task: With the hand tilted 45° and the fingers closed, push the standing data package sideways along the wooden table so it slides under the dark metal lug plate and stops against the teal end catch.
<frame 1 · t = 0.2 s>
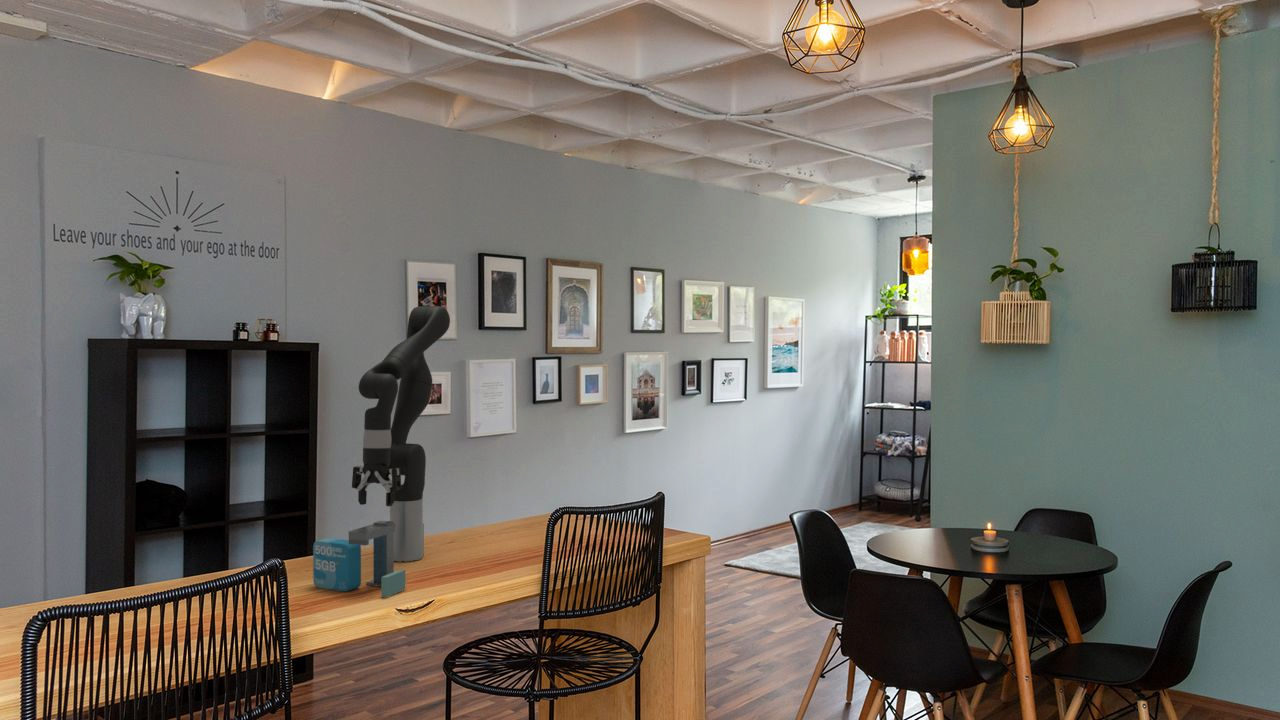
hand: (375, 505, 257), 18 cm above the table, tool pointing down, fingers open, 8 cm apart
data package: (337, 588, 237), on the table
lug bracket: (383, 584, 241), on the table
end catch: (393, 593, 232), on the table
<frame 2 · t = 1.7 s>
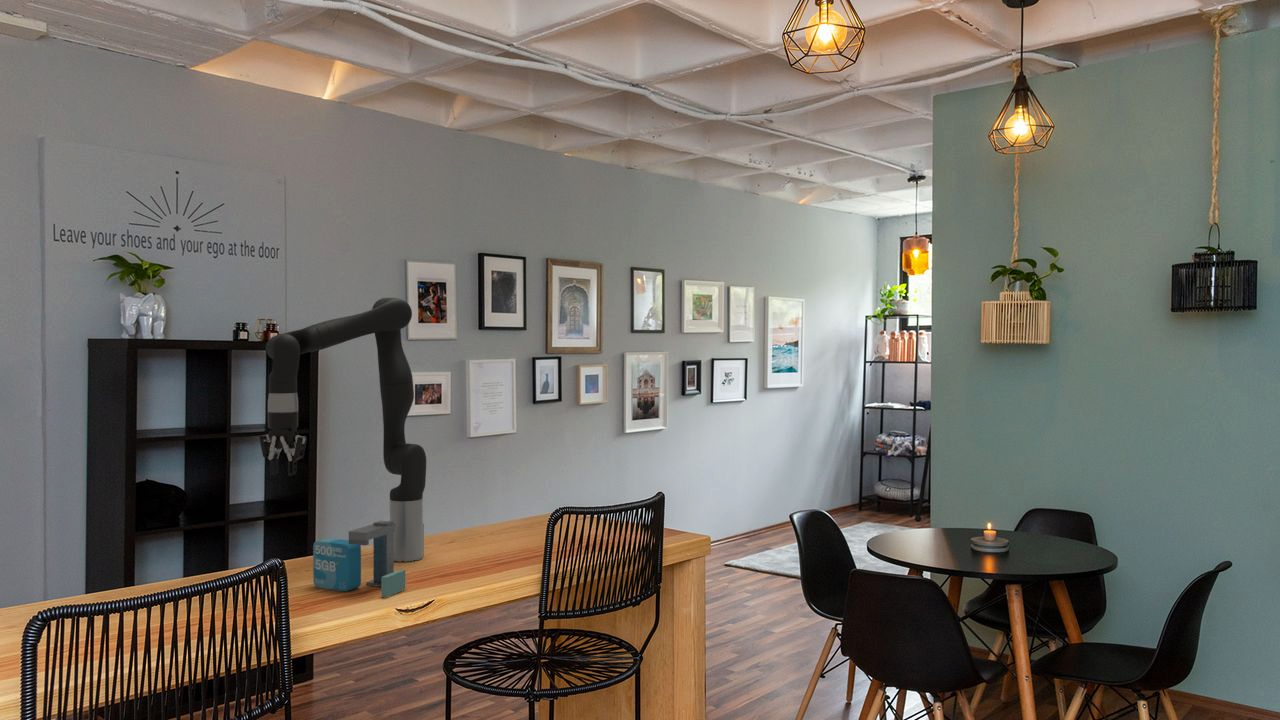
hand: (283, 474, 247), 27 cm above the table, tool pointing down, fingers open, 5 cm apart
nothing on the table moved.
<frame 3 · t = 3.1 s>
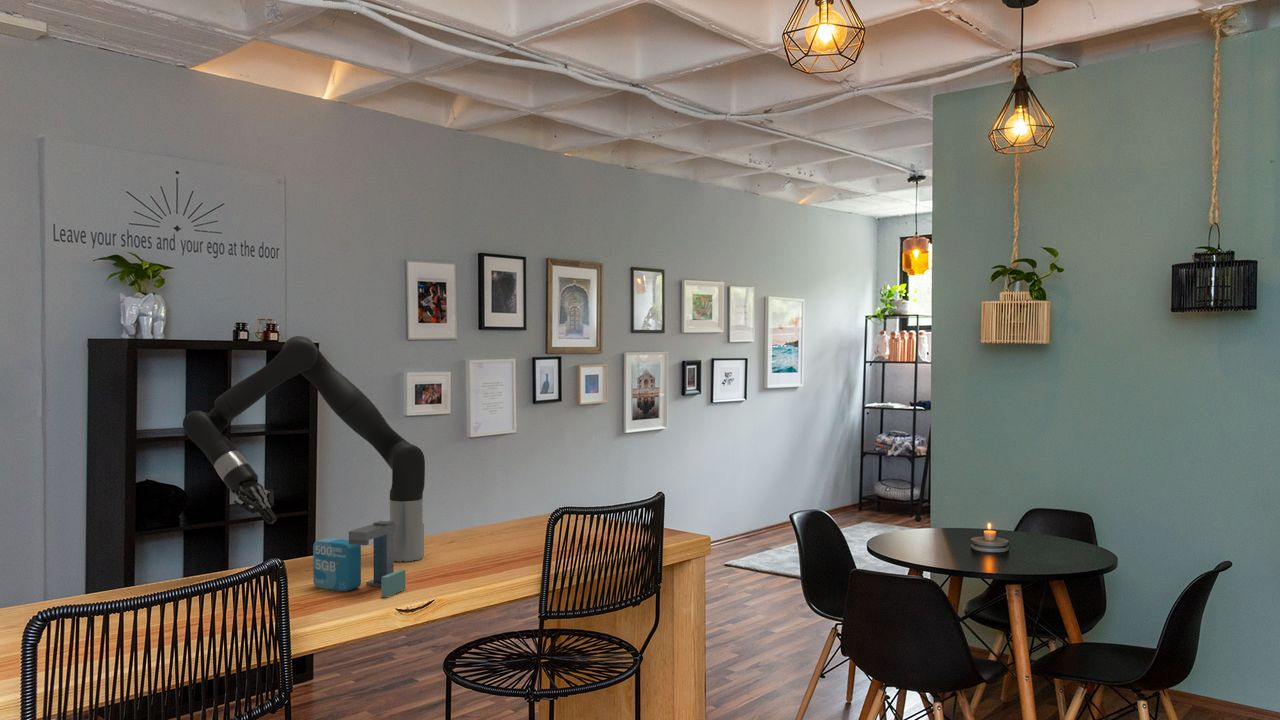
hand: (273, 521, 243), 16 cm above the table, tool tilted 45°, fingers closed
nothing on the table moved.
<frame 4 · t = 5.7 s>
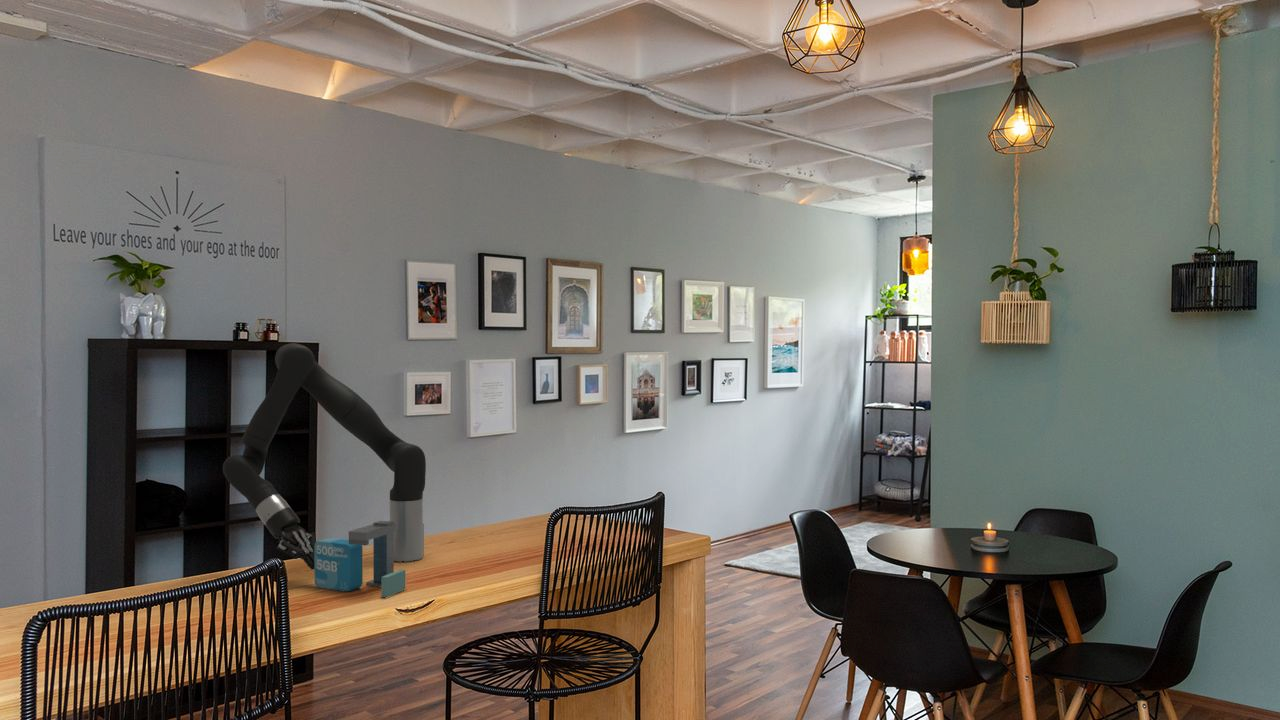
hand: (316, 567, 239), 5 cm above the table, tool tilted 45°, fingers closed
data package: (338, 588, 237), on the table, touching gripper
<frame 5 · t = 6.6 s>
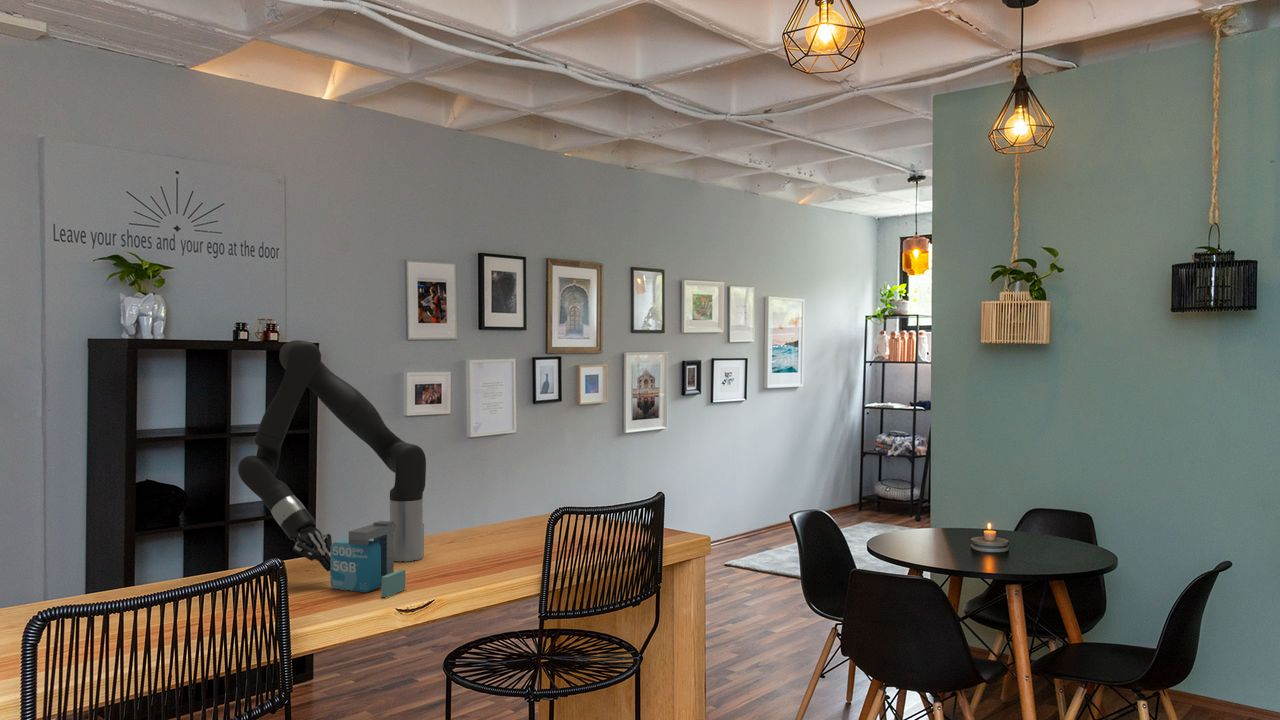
hand: (332, 568, 238), 5 cm above the table, tool tilted 45°, fingers closed
data package: (355, 589, 236), on the table, touching gripper
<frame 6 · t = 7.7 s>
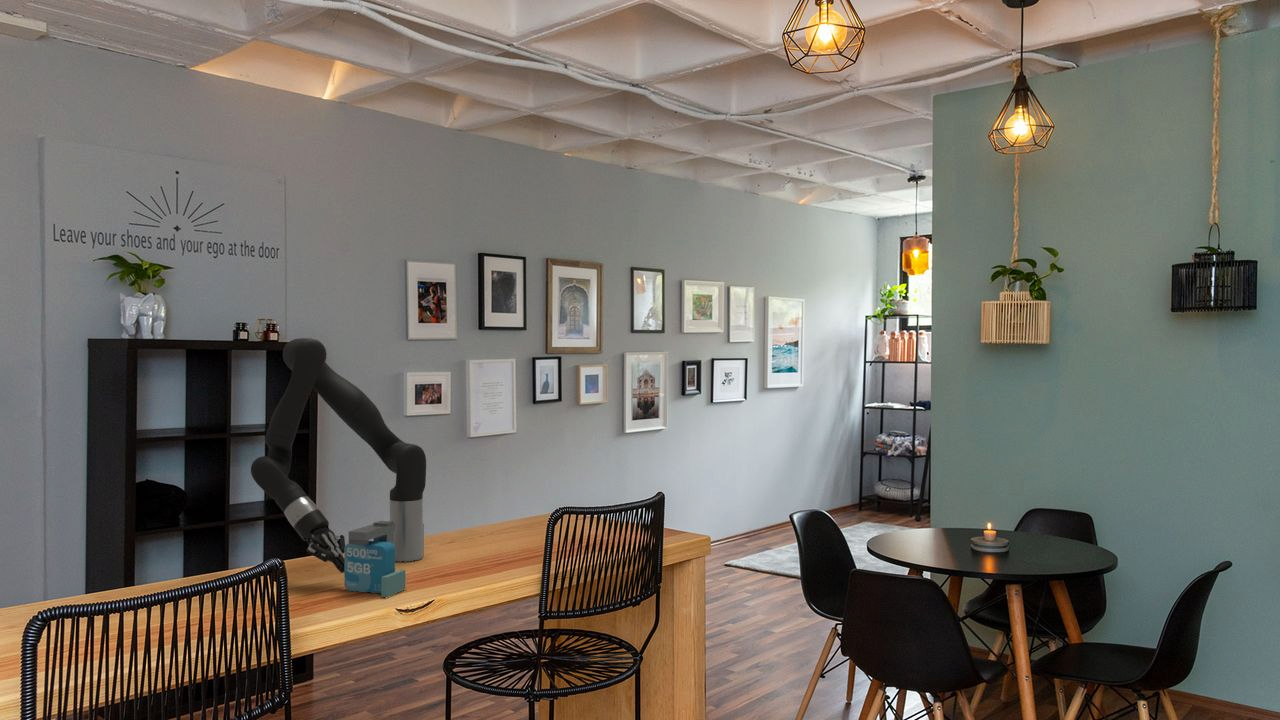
hand: (345, 570, 236), 5 cm above the table, tool tilted 45°, fingers closed
data package: (369, 591, 235), on the table, touching gripper
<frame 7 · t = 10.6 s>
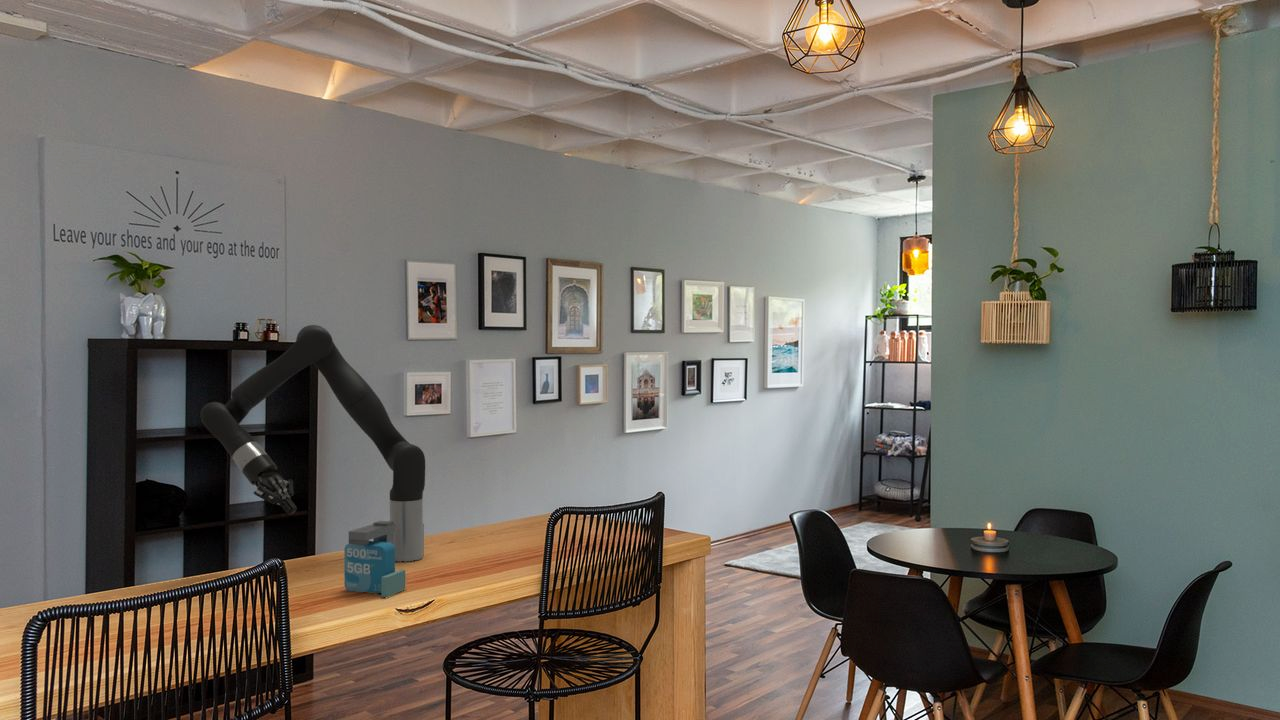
hand: (293, 512, 241), 18 cm above the table, tool tilted 45°, fingers closed
data package: (369, 591, 235), on the table
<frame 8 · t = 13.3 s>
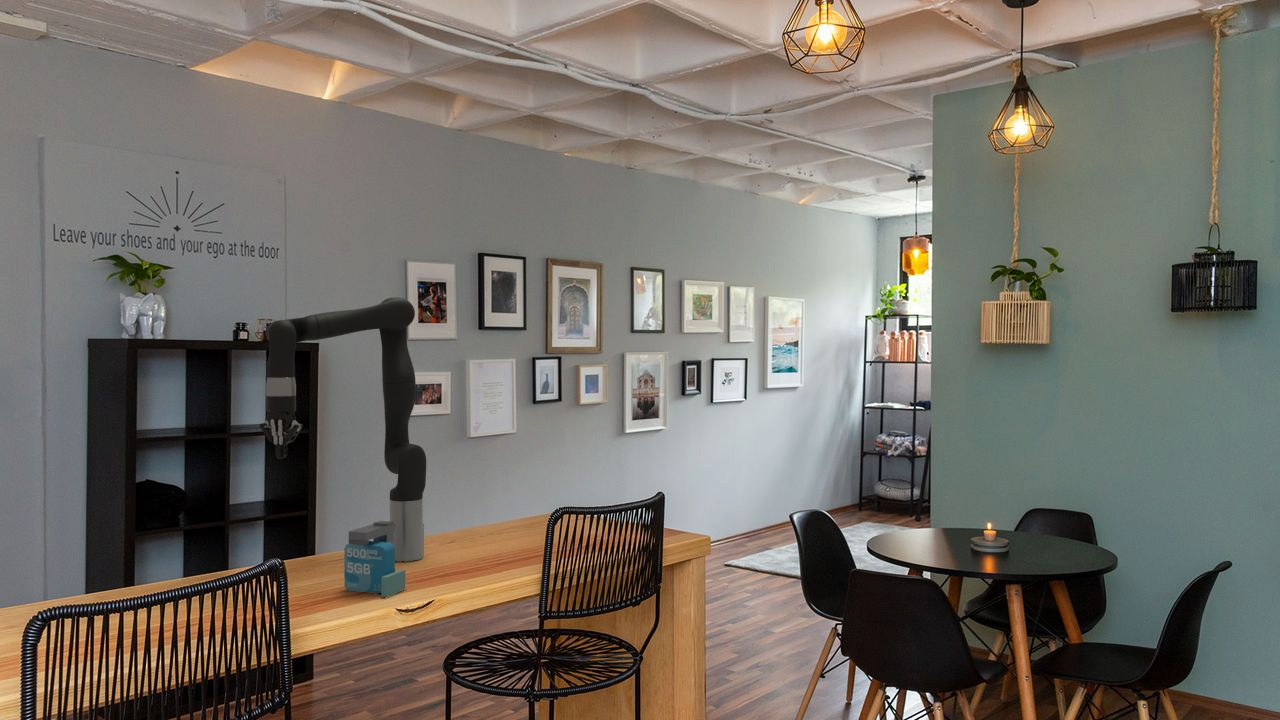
hand: (281, 458, 252), 31 cm above the table, tool pointing down, fingers closed
nothing on the table moved.
at the end: data package inside the target area (0.9 cm from its centre), on the table; data package tilted 0° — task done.
